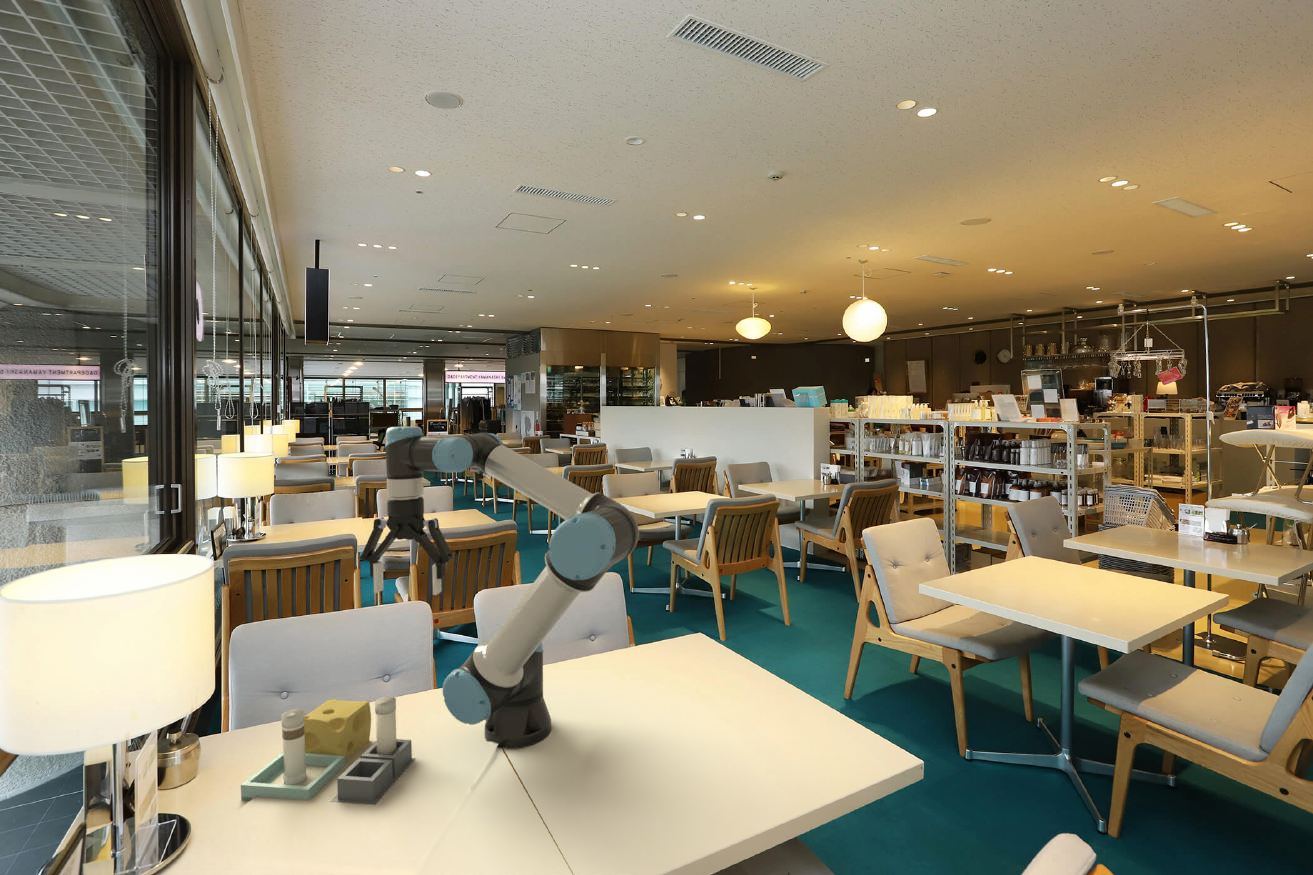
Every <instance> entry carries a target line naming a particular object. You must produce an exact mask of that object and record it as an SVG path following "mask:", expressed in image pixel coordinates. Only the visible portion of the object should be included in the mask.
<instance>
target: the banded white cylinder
mask: <svg viewBox="0 0 1313 875" xmlns="http://www.w3.org/2000/svg"><path fill="white" fill-rule="evenodd" d="M304 716H305V710H304V709H302V708H295V709H294V708H293V709H291V710H287V711H285V712H283V713H282V714H281V717H280V718H281V727H282V728H281V734H282V750H283V751H282V752H283V756H284V773H283V785H296V786H297V785H300V784H302V783H303V782H304V781H306V779H307V776H308V774H307V768H306V767H307V765H306V762H305V726H304V722H305V718H304Z"/></svg>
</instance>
